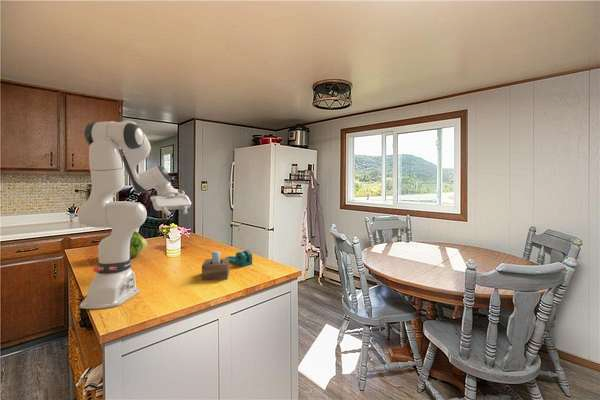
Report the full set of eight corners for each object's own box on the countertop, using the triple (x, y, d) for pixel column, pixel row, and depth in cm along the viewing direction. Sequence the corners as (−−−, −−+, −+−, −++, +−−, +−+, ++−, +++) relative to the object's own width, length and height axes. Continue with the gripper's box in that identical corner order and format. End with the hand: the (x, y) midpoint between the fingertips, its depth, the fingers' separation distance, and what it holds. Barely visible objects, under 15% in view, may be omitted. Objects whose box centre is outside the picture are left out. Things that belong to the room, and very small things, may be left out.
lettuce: (152, 258, 183) (153, 228, 186) (111, 260, 165) (113, 228, 167) (137, 257, 195) (138, 229, 197) (96, 260, 176) (98, 229, 178)
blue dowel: (219, 276, 148) (219, 253, 148) (211, 277, 148) (211, 253, 147) (220, 274, 152) (220, 251, 151) (212, 274, 152) (212, 251, 151)
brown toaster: (227, 279, 145) (227, 265, 145) (201, 280, 143) (201, 265, 143) (229, 271, 157) (229, 258, 156) (205, 272, 155) (205, 259, 155)
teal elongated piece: (252, 264, 171) (252, 251, 170) (243, 267, 166) (243, 253, 165) (231, 259, 182) (231, 246, 181) (222, 261, 177) (222, 248, 176)
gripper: (151, 191, 154) (161, 211, 149) (186, 191, 171) (196, 209, 166) (147, 199, 157) (156, 219, 152) (182, 198, 174) (192, 216, 168)
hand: (178, 214), depth 159 cm, fingers open, 8 cm apart
